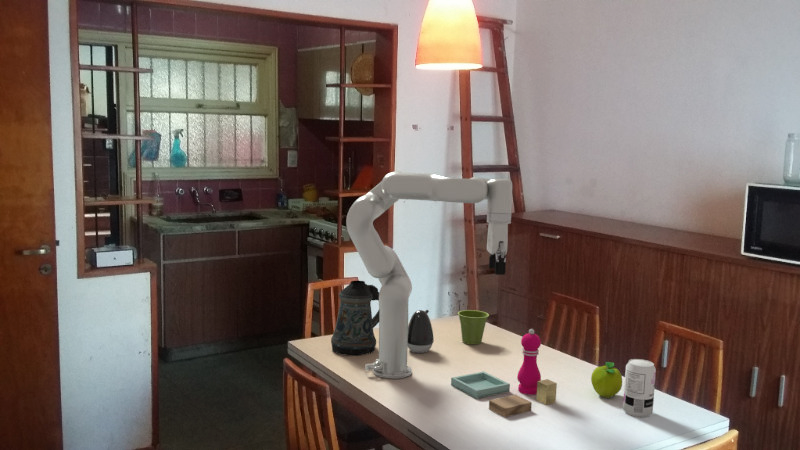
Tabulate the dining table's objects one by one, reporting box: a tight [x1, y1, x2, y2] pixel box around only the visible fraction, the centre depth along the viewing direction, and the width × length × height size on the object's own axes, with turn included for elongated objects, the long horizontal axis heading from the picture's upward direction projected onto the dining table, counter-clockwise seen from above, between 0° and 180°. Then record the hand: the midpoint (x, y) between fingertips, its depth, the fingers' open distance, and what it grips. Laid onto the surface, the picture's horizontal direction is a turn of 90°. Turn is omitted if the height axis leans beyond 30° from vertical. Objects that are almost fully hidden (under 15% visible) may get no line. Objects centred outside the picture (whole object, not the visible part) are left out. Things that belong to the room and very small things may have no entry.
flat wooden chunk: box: [488, 394, 533, 418], centre depth 208 cm, size 10×7×3 cm
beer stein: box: [330, 280, 380, 357], centre depth 261 cm, size 16×19×25 cm
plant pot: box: [457, 309, 490, 346], centre depth 274 cm, size 12×12×11 cm
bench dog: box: [536, 378, 558, 406], centre depth 215 cm, size 4×4×6 cm
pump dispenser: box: [408, 309, 435, 354], centre depth 261 cm, size 10×10×15 cm
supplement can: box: [622, 358, 657, 418], centre depth 208 cm, size 8×8×15 cm
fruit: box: [590, 361, 623, 398], centre depth 221 cm, size 9×9×10 cm
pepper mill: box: [517, 328, 542, 396], centre depth 222 cm, size 7×7×20 cm
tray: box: [450, 371, 511, 400], centre depth 225 cm, size 13×13×2 cm
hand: (496, 271), depth 229 cm, fingers open, 9 cm apart
